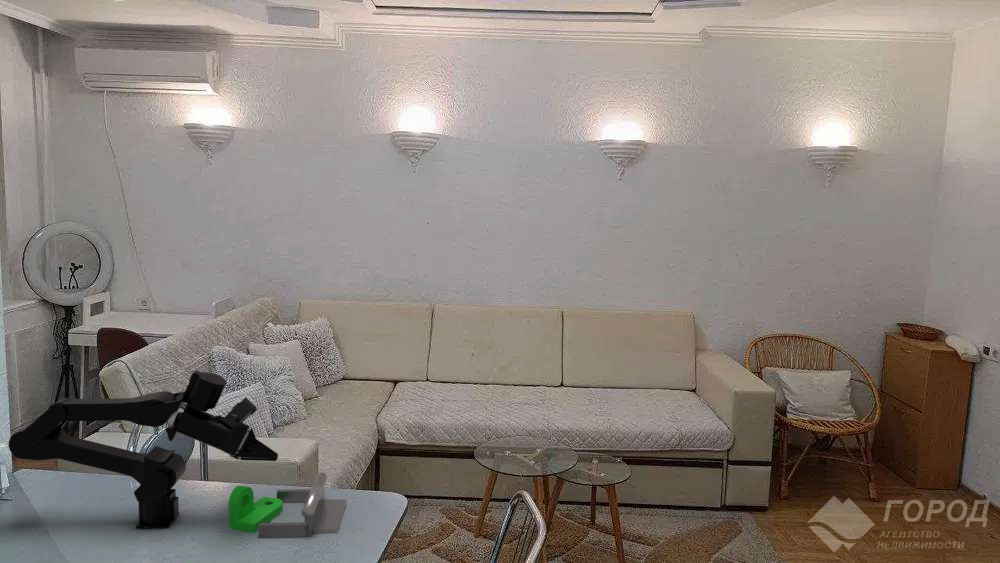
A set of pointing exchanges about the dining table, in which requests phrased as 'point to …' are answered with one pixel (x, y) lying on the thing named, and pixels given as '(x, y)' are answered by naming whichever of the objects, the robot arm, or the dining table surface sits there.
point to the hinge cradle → (307, 512)
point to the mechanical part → (251, 509)
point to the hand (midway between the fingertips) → (277, 457)
